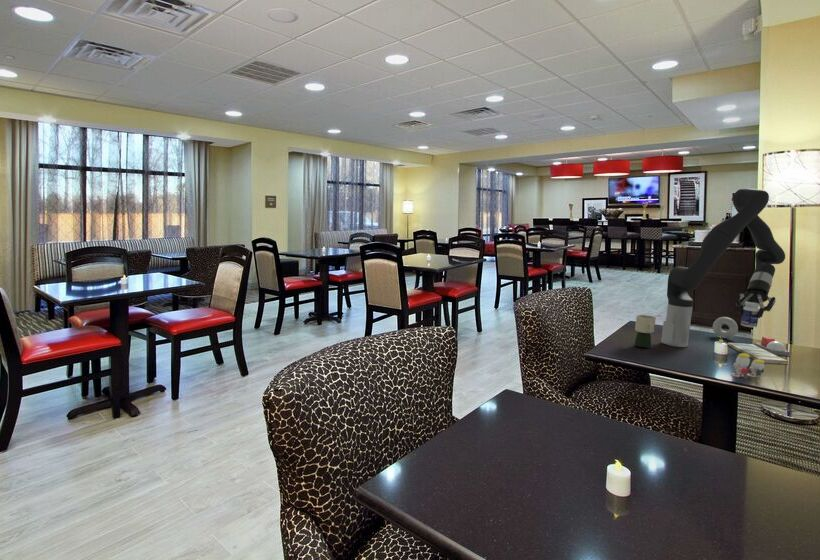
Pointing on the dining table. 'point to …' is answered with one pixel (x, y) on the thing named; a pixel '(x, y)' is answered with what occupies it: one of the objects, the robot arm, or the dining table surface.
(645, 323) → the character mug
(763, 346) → the dice dome
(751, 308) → the pill bottle
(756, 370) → the toy figures
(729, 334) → the donut
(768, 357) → the game track
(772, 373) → the dining table surface
